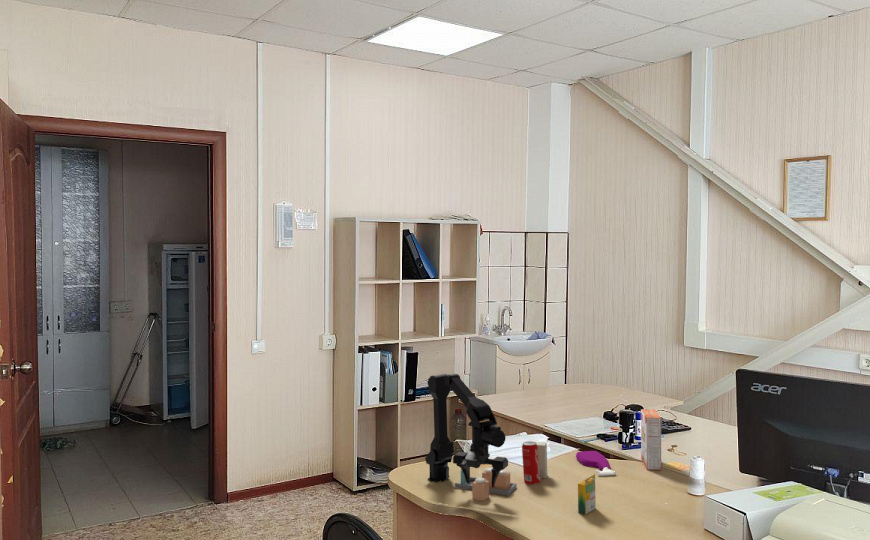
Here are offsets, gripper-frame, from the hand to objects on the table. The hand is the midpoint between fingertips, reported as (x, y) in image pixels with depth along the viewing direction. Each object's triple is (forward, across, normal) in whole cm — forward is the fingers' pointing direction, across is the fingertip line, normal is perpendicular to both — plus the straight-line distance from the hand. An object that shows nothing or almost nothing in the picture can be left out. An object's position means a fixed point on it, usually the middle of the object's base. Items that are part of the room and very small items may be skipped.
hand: (480, 485), depth 241 cm
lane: (+5, -2, +10) cm, 11 cm away
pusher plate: (+4, -10, +10) cm, 14 cm away
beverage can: (+5, +11, +22) cm, 25 cm away
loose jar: (+5, 0, 0) cm, 5 cm away
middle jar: (+4, 0, +10) cm, 11 cm away
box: (+5, +12, +30) cm, 33 cm away
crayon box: (+5, +36, +4) cm, 37 cm away
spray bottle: (+6, +29, +52) cm, 60 cm away
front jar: (+4, +4, +10) cm, 12 cm away
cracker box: (+5, +48, +62) cm, 79 cm away
